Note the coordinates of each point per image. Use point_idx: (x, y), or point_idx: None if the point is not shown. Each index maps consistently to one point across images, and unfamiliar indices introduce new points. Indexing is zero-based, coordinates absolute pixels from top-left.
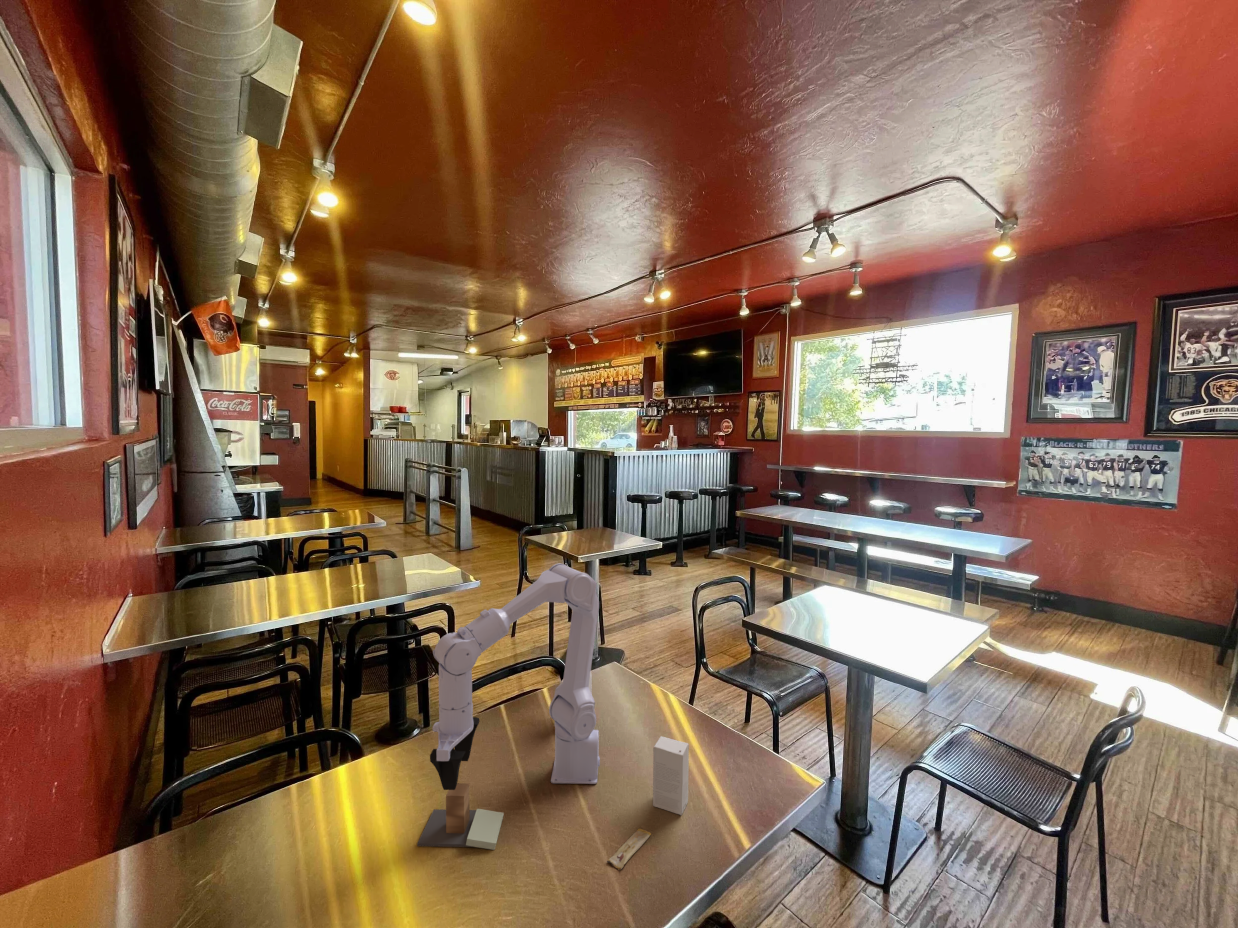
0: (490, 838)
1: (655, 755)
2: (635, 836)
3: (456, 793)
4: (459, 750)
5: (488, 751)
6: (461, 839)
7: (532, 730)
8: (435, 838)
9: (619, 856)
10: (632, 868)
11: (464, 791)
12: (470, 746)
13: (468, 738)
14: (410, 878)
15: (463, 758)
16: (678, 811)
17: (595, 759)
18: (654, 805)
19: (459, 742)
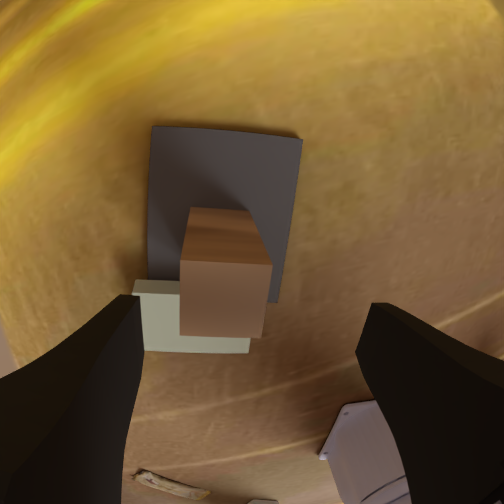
0: (152, 339)
1: None
2: (192, 491)
3: (195, 302)
4: (398, 352)
5: (487, 252)
6: (163, 258)
7: (501, 328)
8: (170, 178)
9: (152, 480)
10: (139, 483)
11: (207, 331)
12: (385, 418)
13: (411, 449)
14: (49, 152)
15: (366, 342)
16: None
17: (337, 486)
18: (251, 501)
19: (426, 386)
